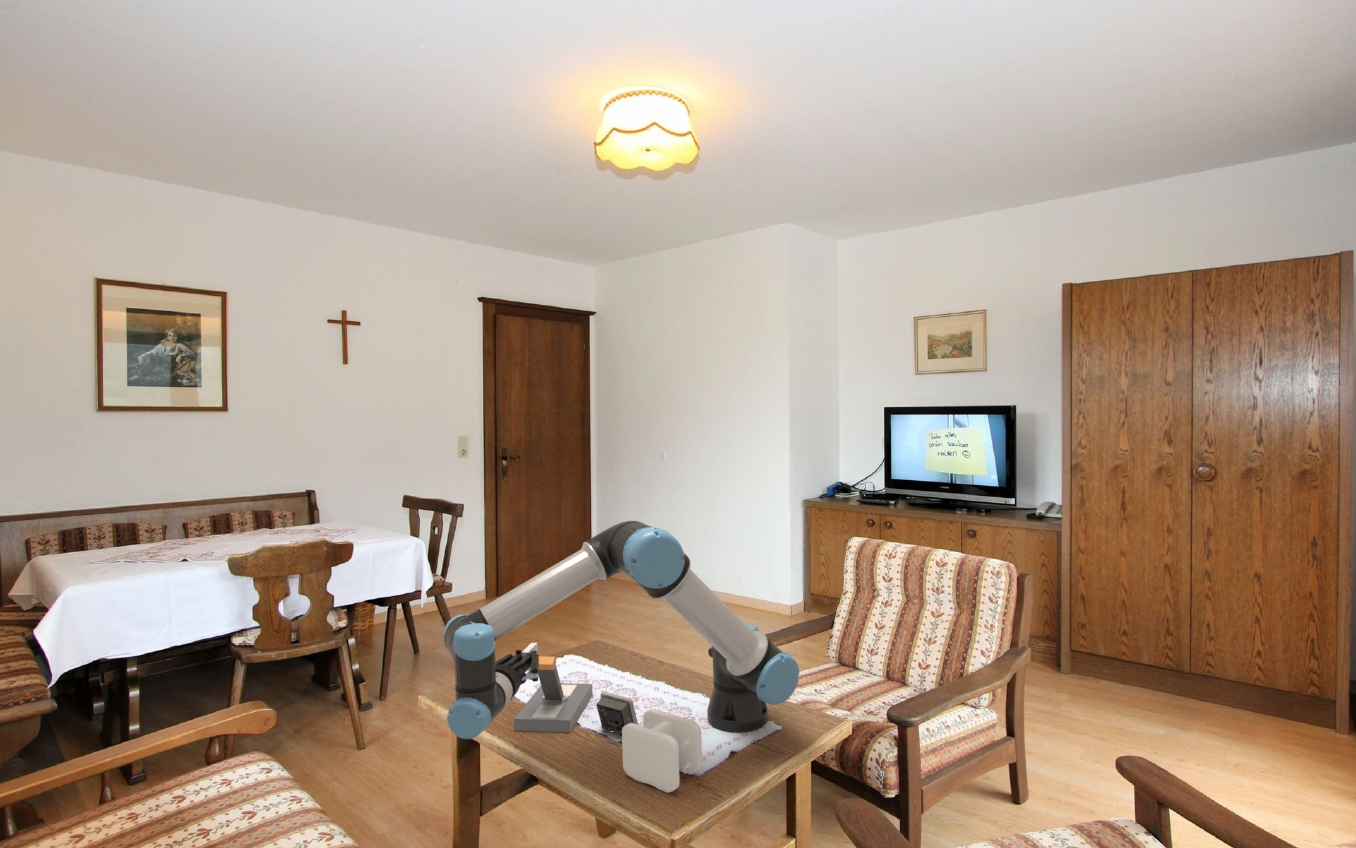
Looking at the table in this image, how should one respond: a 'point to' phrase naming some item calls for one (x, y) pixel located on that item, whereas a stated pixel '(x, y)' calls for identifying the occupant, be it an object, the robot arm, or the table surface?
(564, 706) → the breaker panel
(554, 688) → the breaker lever
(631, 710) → the electrical switch
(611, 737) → the table surface
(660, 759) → the cable organizer
